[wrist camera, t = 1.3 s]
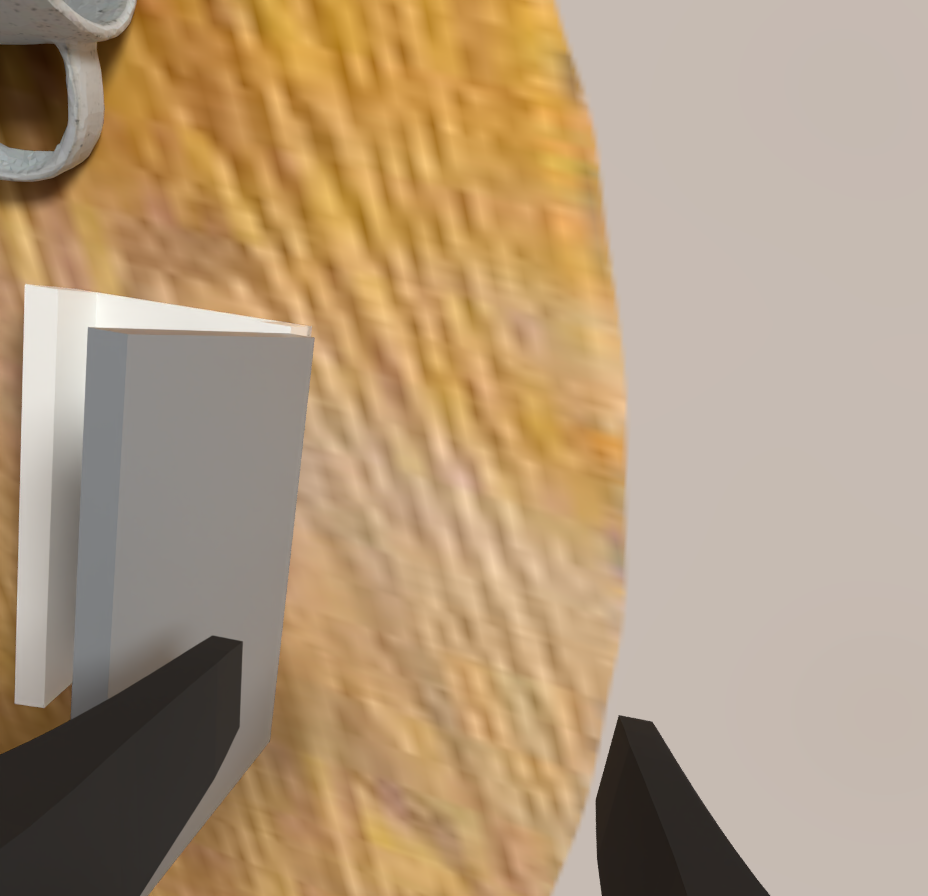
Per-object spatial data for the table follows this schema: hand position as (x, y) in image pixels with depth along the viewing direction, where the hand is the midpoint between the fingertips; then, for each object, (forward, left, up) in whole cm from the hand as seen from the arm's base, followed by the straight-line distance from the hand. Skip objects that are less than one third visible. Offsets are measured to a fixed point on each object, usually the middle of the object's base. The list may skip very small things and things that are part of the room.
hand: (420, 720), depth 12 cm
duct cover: (-1, +6, -5) cm, 8 cm away
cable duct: (-1, +10, -11) cm, 15 cm away
